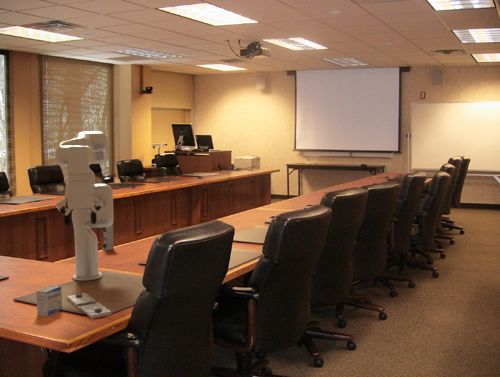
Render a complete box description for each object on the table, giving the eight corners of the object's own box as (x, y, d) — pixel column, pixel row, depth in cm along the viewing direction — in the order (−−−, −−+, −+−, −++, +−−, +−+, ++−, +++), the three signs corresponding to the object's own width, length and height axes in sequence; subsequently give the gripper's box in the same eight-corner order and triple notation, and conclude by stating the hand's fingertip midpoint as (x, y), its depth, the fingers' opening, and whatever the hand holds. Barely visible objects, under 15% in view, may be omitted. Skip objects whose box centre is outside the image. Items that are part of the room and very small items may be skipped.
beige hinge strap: (67, 299, 197) (67, 294, 197) (85, 295, 201) (85, 291, 201) (91, 319, 175) (91, 313, 175) (111, 314, 179) (111, 309, 179)
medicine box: (47, 316, 178) (46, 292, 177) (36, 315, 179) (35, 291, 178) (62, 309, 185) (61, 286, 184) (52, 308, 187) (51, 284, 186)
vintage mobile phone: (102, 249, 284) (100, 204, 282) (110, 248, 288) (108, 204, 285) (105, 251, 282) (104, 205, 279) (113, 249, 285) (112, 204, 283)
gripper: (97, 178, 200) (99, 221, 201) (52, 179, 190) (53, 225, 191) (105, 178, 194) (106, 223, 195) (58, 180, 184) (60, 227, 185)
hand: (80, 224), depth 193 cm, fingers open, 9 cm apart
